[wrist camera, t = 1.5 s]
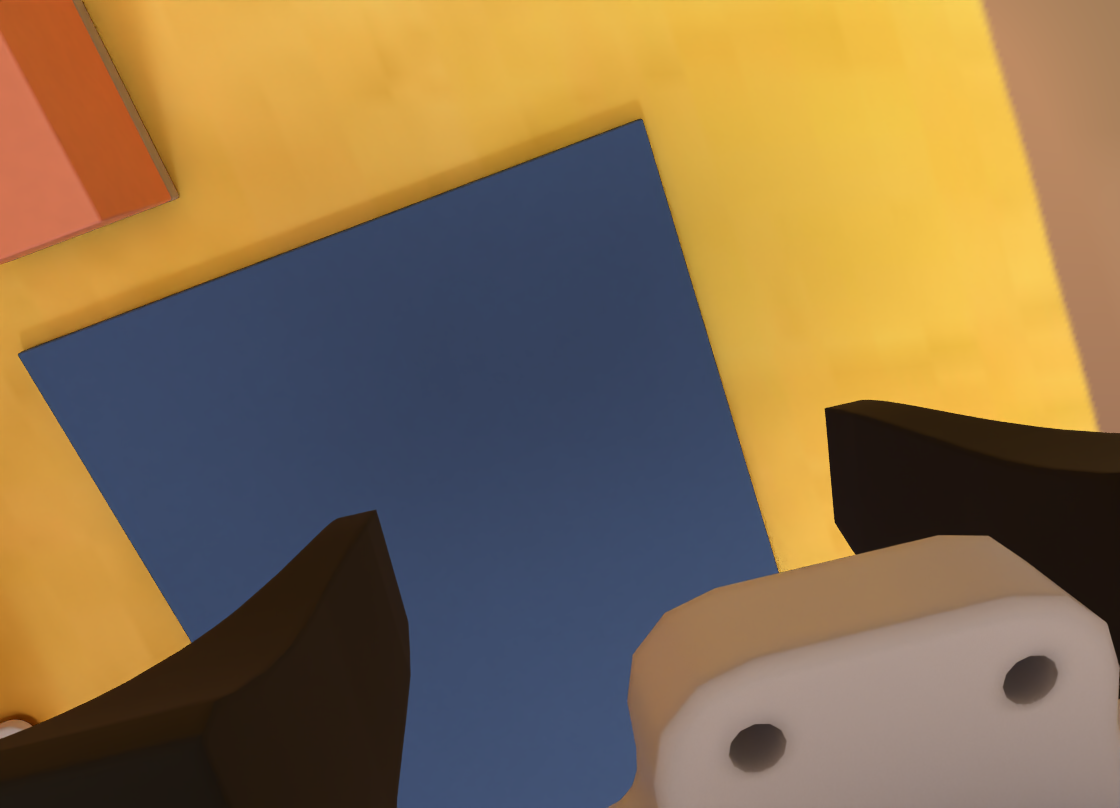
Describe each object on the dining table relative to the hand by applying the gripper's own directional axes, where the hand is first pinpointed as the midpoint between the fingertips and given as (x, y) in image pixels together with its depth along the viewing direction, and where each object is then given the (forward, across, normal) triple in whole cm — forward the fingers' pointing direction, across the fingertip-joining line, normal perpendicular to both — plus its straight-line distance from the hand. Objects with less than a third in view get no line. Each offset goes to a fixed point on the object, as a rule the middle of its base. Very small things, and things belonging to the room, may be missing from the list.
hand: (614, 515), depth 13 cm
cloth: (+10, +3, +6) cm, 12 cm away
